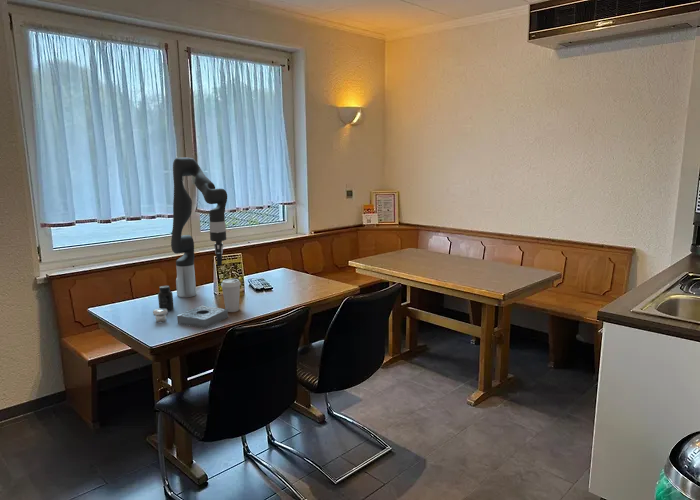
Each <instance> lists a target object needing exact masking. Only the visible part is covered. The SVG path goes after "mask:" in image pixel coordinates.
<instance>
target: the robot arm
mask: <svg viewBox="0 0 700 500" xmlns="http://www.w3.org/2000/svg"><path fill="white" fill-rule="evenodd" d="M191 176H192V177H194V185H195V187H196V188H197V190H199V192H201V194H202V196H203V199H204V201H205V202H206V203H207V204H209V205H216V207H214V208H211V209H210V210H209V211H208V214H209V215H208V216H209V239H210V241H211V242H215V243H214V244H213V245H214V253H215V258H216V266H222V265H223V251H224V243H223V242H225V241H226V240H227V227H226V226H227V225H226V217H225V213H226V212H225V211H226V206H227V202H228V194H227V193H228V192H227V191H226V190H225V188H216V186H215V184H214V183H213V181H211V180H210V179H209V178H208V177H207V176H206V175H205V173H204V171H203V170H202V168H201V167H200V165H199V163H198V162H197V161H196V159H194V158H193V157H176V158H174V159H173V162H172V178H173V179H172V180H173V202H172V203H173V204H172V205H173V206H172V207H173V208H172V216H173V217H172V229H171V230H172V232H171V239H170V241H171V242H170V244H171V245H170V246H171V250H172V253H174V254H177V255H178V254H183V255H182V256H180V257H179V258H177V259H176V260H175V268H176V279H175V285H176V286H175V288H176V296H177V297H180V298H192V297H194V296H197V289H196V285H197V283H196V275H195V274H196V272H195V242H194V238H193V236H191V235H190V234H184V235H182V234H183V233H182V232H183V230H184V227H185V225H186V224H187V222H188V221H189V219H190V218H191V216H192V210H193V201H192V198H191V196H190V194H189V193H188V191H187V190H186V187H185V186H184V182H183V181H184V180H183V179H184V178H183V177H191Z"/></svg>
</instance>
